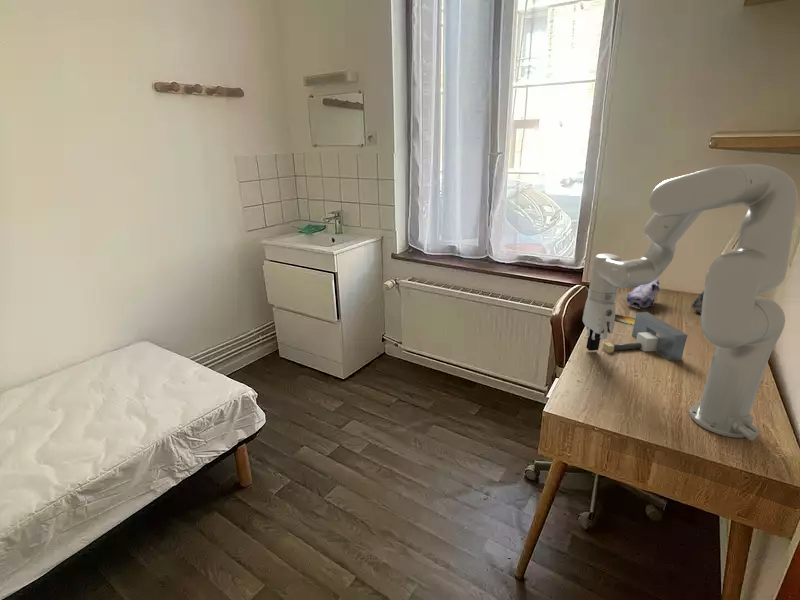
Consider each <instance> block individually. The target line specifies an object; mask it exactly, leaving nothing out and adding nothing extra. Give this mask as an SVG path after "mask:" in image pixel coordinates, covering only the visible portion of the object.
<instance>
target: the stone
mask: <svg viewBox="0 0 800 600" xmlns="http://www.w3.org/2000/svg"><path fill="white" fill-rule="evenodd" d="M703 296H704V290H703V291H702V292H701V293H700V294H698V295H697V297H696V298H695V300H694V301H693V303H692V304H691V308H692V309H693V310H694V311H697V313H699V314H700V315H701V312H702V304H703Z"/></svg>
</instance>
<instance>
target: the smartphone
mask: <svg viewBox="0 0 800 600" xmlns="http://www.w3.org/2000/svg"><path fill="white" fill-rule="evenodd" d="M635 318H636V317H630V316H625V315H622V314H621V315H619V314H616V313H615V321H616V322H615V323H619V322H620V323H621V324H624V323H625V325H628V324H630V326H633V325H634V323H635Z"/></svg>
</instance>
